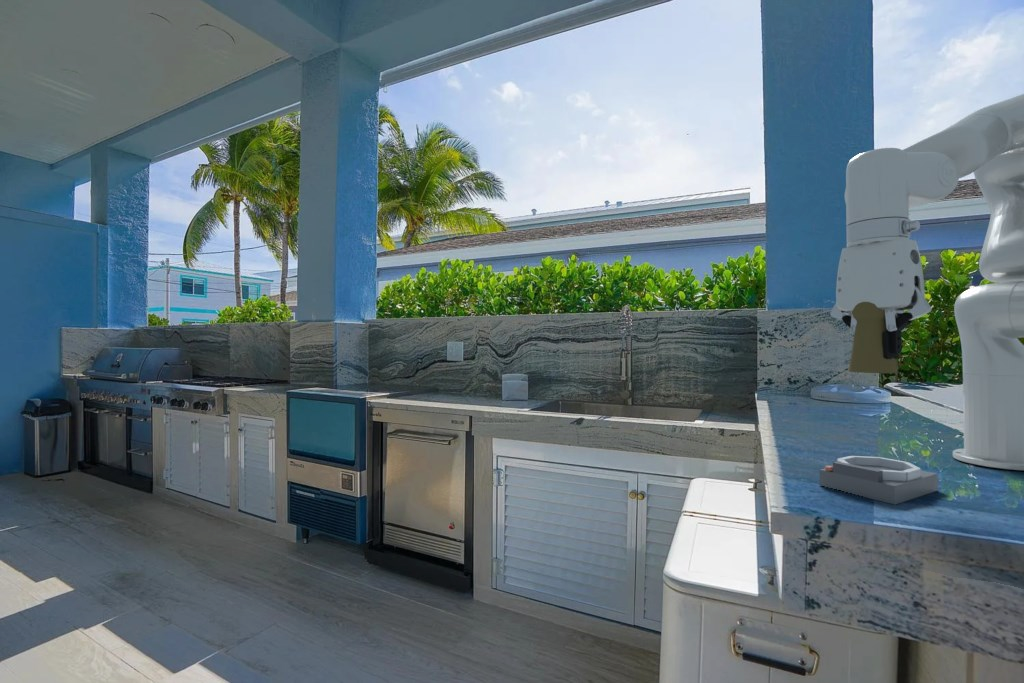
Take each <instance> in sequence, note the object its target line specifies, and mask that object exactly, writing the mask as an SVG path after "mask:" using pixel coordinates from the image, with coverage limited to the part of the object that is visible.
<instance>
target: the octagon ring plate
mask: <svg viewBox="0 0 1024 683" xmlns="http://www.w3.org/2000/svg"><path fill="white" fill-rule="evenodd" d="M824 466H825V467H823V468H822V469H819V486H820V485H822V486H826V487H829V488H828V489H830V488H833V489H832V490H834V489H837V490H836V491H838V490H841V491H840V492H842V491H844V492H843V493H846V492H848V493H847V494H850V493H852V494H851V495H854V494H855V496H858V495H859V496H860V497H862V496H863V498H867V499H871V500H875V501H880V502H884V503H888V504H891V505H897V504H902V503H904V502H907V501H911V500H914V499H917V498H920V497H923V496H925V495H929V494H932V493H934V492H935V493H936V492H938V491H939V482H938V481H939V480H938V479H939V478H938V473H936V472H931V471H925V470H922V468H921V467H919V466H916V465H915V464H913V463H911V462H908V461H903V460H899V459H893V458H887V457H882V456H880V457H879V456H863V455H862V456H861V455H849V456H844V457H839V458H837V459H836V461H834V462H832V465H824ZM822 486H821V487H822ZM826 487H825V488H826Z"/></svg>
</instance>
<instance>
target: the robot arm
mask: <svg viewBox="0 0 1024 683" xmlns="http://www.w3.org/2000/svg"><path fill="white" fill-rule="evenodd" d="M971 174H973V176H974V178H975V181H976V183H977V185H978V187H979V189H980V191H981V194H982V196H983V197H984V198H983V199H985V201H986V204H987V205H988V209H989V211H990V216H989V217H990V218H989V222H988V226H987V230H986V234H985V237H984V241H983V245H982V248H981V252H980V257H979V262H978V266H979V267H978V270H979V273H980V275H981V276H982V277H983V278H984V279H985V280H986V281H988V282H991V283H987V284H981V285H976V286H973V287H971V288H968V289H966V290H965V291H963V292H962V293H960V294H959V295H958V297H957V298H956V299H955V303H954V306H953V308H954V309H953V312H954V318H955V322H956V325H957V330H958V335H959V338H960V344H961V361H962V404H963V408H962V410H963V411H962V413H963V414H962V415H963V448H956V449H953V450H952V457H953V458H954V459H955V460H957V461H961V462H963V463H967V464H971V465H977V466H981V467H988V468H995V469H1002V470H1009V471H1011V470H1013V471H1022V472H1023V471H1024V344H1023V343H1022V342H1021V341H1020V340H1019V339H1020V338H1024V93H1023V94H1019V95H1016V96H1014V97H1010V98H1008V99H1005V100H1003V101H999V102H995V103H994V104H990V105H987V106H984V107H983V108H980V109H977V110H975V111H974V112H971V113H970V114H968V115H967V116H965V117H963V118H961V119H960V120H958V121H955V123H953V124H951V125H950V126H948V127H946V128H945V129H943V130H942V131H939V132H936V133H935V134H933V135H931V136H928V137H927V138H926V137H925V138H924V139H922V140H920V141H918V142H915V143H914V144H911V145H910V146H908V147H906V148H903V149H901V148H897V147H882V148H877V149H876V148H875V149H870V150H867V151H865V152H862V153H859V154H857V155H855V156H854V157H852V158H851V159H850V160H849V162H848V163H847V166H846V169H845V182H846V183H845V189H844V190H845V191H844V202H845V207H846V208H845V211H846V212H845V215H846V217H845V218H846V220H845V224H846V230H845V231H846V247H842V250H841V253H840V256H839V263H838V267H837V268H838V269H837V276H836V284H835V285H836V287H835V288H836V290H835V300H836V301H835V304H834V305H833V307H832V310H831V311H830V313H829V314H830V315H829V316H831V317H832V318H834V319H837V320H839V321H842V322H843V323H844V324H845V325H846V326H847V327H848V328H850V331H851V332H853V333H855V328H856V324H857V321H856V319H855V318H854V317H853V315H852V314H851V313H850V314H849V313H847V312H852V311H853V309H854V307H855V306H856V305H857V304H858V303H861V302H870V303H873V304H875V305H876V306H877V308H880V309H882V310H885V317H886V332H883V333H882V347H883V356H884V358H885V359H892V357H893V358H894V359H896V360H898V359H899V357H900V354H901V353H902V349H903V348H902V332H904V331H905V330H906V328H907V327H908V326H909V325H910V324H911V323H913V322H914V320H916V319H918V318H921V317H923V316H925V315H928V314H929V313H931V311H932V307H931V305H930V303H929V302H928V300H927V299H926V296H925V295H926V290H925V280H924V271H923V264H922V260H921V254H920V250H919V247H918V246H919V245H918V243H917V240H916V239H915V240H914V239H909V238H911V233H912V232H915V231H919V230H920V228H921V223H920V221H919V220H911V219H909V218H910V216H909V215H910V214H909V211H910V209H911V208H914V207H919V206H923V205H929V204H931V203H934V202H938V201H940V200H942V199H944V198H947V197H948V196H949V195H950V194H951V193H953V191H954V190H955V189H956V187H957V186H958V183H959V179H962V178H965V177H966V176H969V175H971ZM909 208H910V209H909Z"/></svg>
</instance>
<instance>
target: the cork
mask: <svg viewBox="0 0 1024 683" xmlns="http://www.w3.org/2000/svg"><path fill="white" fill-rule="evenodd" d="M851 315H853V317H854V318H855V319H856V321H857V324H856V328H855V332H853V334H854V335H853V339H852V346H851V351H850V352H851V353H850V358H849V365H848V372H850V373H863V374H864V373H865V374H868V373H869V374H898V373H899V372H898V367H897V366H898V365H897V361H896V360H897V359H894V358H893V357H892V359H885V358H884V356H883V347H882V333H883V332H886V317H885V310H882V309H880V308H877V306H876V305H875V304H873V303H870V302H861V303H858V304H857V305H856V306H855V307H854V309H853V311H851Z"/></svg>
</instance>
